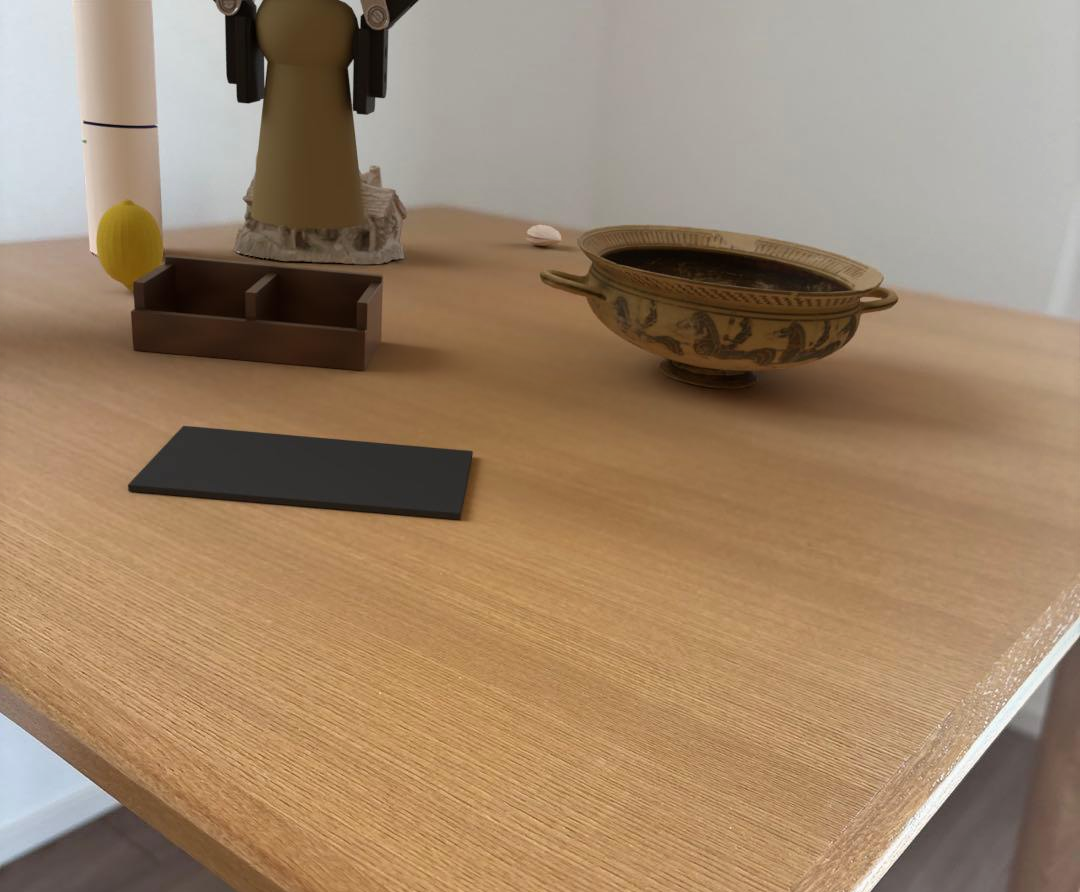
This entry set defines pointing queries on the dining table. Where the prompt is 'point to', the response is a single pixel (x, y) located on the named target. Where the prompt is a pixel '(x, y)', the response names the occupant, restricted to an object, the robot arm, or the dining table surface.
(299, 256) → the ceramic cottage
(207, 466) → the mat
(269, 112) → the cork
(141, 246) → the lemon
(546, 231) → the clam shell
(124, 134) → the cylindrical container
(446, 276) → the dining table surface
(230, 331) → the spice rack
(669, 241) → the ceramic bowl
